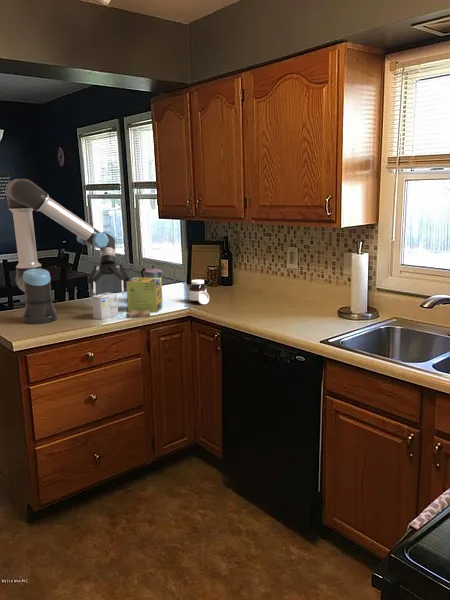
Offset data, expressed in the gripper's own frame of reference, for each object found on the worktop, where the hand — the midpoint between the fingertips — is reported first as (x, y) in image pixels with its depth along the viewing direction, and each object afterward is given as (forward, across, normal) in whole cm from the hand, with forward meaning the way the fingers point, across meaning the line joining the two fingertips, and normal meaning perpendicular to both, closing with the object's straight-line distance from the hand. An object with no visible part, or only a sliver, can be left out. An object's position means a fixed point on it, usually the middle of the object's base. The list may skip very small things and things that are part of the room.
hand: (108, 293), depth 257 cm
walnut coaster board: (+12, -14, -2) cm, 19 cm away
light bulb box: (+11, +2, -3) cm, 12 cm away
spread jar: (-2, -46, -18) cm, 50 cm away
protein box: (+4, -17, -10) cm, 21 cm away
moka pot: (-7, -22, -22) cm, 32 cm away
